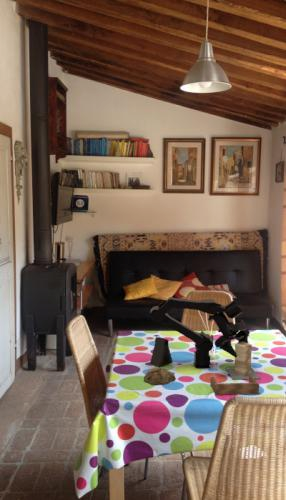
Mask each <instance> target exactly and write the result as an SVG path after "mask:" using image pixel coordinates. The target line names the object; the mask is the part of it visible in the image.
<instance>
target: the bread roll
mask: <svg viewBox="0 0 286 500" xmlns="http://www.w3.org/2000/svg"><path fill="white" fill-rule="evenodd" d="M176 379H177V377H176V376H175V374H174V373H173V372H171V371H169V370H167V368H166V369H165V368H162V367H153V368H151V369H149V370H148V371H147V372H146V373H145V374H144V377H143V381H144V382H147V383H149V385H151V386H165V385H169V384H170V383H173V382H175V380H176Z"/></svg>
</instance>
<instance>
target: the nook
mask: <svg viewBox="0 0 286 500" xmlns="http://www.w3.org/2000/svg"><path fill="white" fill-rule="evenodd" d="M209 386H210V387H211V389H212V391H213V393H214V395H219V396H220V395H256V394H260V382H258V381H257V379H254V378H253V377H252V376H249V379H248V382H220V383H218V382H217V380H216V379H215V377H214V376H210V385H209Z"/></svg>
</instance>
